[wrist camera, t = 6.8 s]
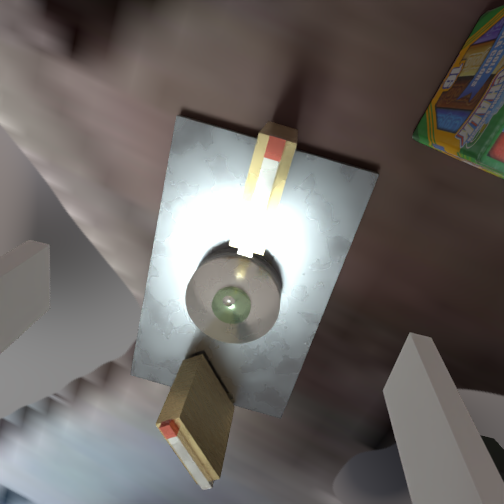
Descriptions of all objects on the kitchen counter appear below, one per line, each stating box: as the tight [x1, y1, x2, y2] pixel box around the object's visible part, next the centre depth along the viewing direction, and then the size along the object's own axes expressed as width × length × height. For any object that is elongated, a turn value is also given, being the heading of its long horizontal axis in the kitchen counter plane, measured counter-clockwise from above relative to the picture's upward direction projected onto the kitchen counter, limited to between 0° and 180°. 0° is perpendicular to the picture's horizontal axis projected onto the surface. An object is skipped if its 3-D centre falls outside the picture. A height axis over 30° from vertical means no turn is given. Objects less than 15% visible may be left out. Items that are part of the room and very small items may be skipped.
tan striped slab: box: [229, 121, 298, 258], centre depth 26 cm, size 7×2×9 cm, turn 165°
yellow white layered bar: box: [156, 354, 234, 490], centre depth 35 cm, size 7×2×9 cm, turn 25°
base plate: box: [130, 115, 379, 419], centre depth 34 cm, size 26×16×4 cm, turn 165°
